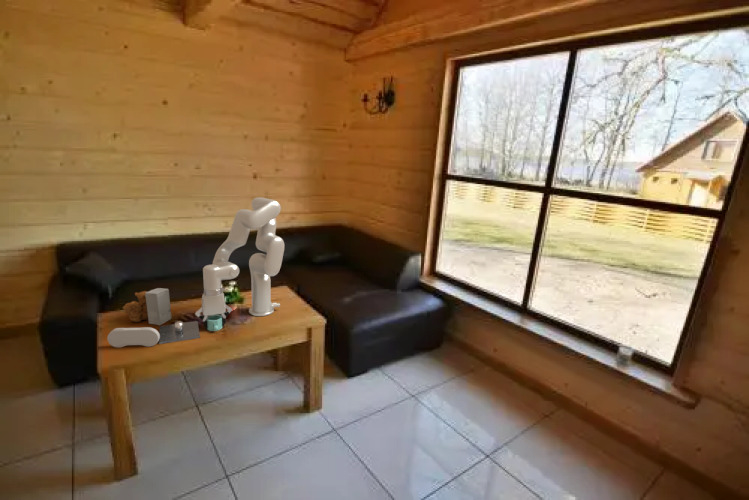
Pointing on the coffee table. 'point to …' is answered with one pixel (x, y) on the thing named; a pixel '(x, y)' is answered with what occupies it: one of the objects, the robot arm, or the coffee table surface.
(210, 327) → the teal cup
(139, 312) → the stuffed squirrel
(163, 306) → the skincare box
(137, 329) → the game controller
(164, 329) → the grey plate with knob
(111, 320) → the coffee table surface
